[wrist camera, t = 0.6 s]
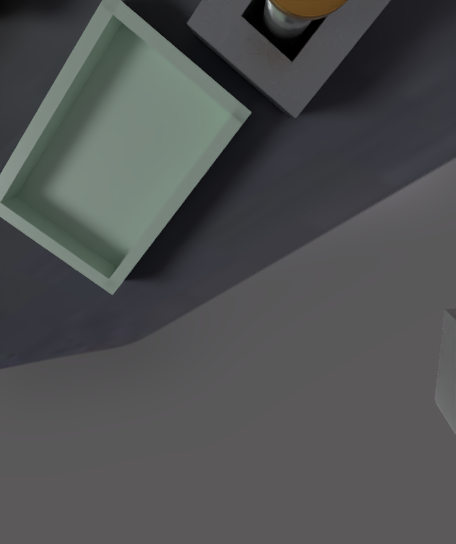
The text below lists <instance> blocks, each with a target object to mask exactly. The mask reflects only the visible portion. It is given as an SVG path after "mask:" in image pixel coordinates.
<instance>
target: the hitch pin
mask: <svg viewBox="0 0 456 544" xmlns="http://www.w3.org/2000/svg"><path fill="white" fill-rule="evenodd" d="M347 1H348V0H266V2H265V8H264V13H263V19H262V31H263V34H264V36H265V38H266V39H267V40H268V41H269V42H270V43H272V44H273V45H274V46H276V47H287V46H290V45H292V44H293V43H295V42H296V41H297V40H298V38H299V37H300V36H301V34H302V33H303V32H304V30H305V29H306V28H307V26H308V25H309V24H310V22H311V21H312V20H317V19H321V18H323V17H326V16H328V15H330V14H332V13H334V12H335V11H337V10H338V9H339V8H340V7H342V6H343V5H344V4H345V3H346V2H347Z"/></svg>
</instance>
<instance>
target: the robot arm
mask: <svg viewBox="0 0 456 544" xmlns="http://www.w3.org/2000/svg"><path fill="white" fill-rule="evenodd" d="M435 403H436V404H437V406H438V407H439V409H440V410H441V412H442V413H443V415H444V417H445V418H446V419H447V421H448V423H449V424H450V426H451V428H452V429H453V431H454V432H455V434H456V309H445V313H444V321H443V330H442V339H441V348H440V357H439V366H438V375H437V384H436V392H435Z"/></svg>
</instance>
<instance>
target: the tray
mask: <svg viewBox="0 0 456 544" xmlns="http://www.w3.org/2000/svg"><path fill="white" fill-rule="evenodd" d="M251 113H252V112H251V111H249V110H248V109H247V108H246V107H245V106H244V105H242V104H241V103H240V102H239V101H238V100H237V99H235V98H234V97H233V96H232V95H231V94H230V93H228V92H227V91H226V90H225V89H224V88H223V87H221V86H220V85H219V84H218V83H217V82H216V81H214V80H213V79H212V78H211V77H210V76H209V75H207V74H206V73H205V72H204V71H203V70H202V69H200V68H199V67H198V66H197V65H196V64H194V63H193V62H192V61H191V60H190V59H189V58H187V57H186V56H185V55H184V54H183V53H182V52H180V51H179V50H178V49H177V48H176V47H175V46H173V45H172V44H171V43H170V42H169V41H168V40H166V39H165V38H164V37H163V36H162V35H161V34H159V33H158V32H157V31H156V30H155V29H154V28H152V27H151V26H150V25H149V24H148V23H147V22H145V21H144V20H143V19H142V18H141V17H140V16H138V15H137V14H136V13H135V12H134V11H133V10H131V9H130V8H129V7H128V6H127V5H125V4H124V3H123V2H122V1H121V0H102V2H101V3H100V5H99V7H98V8H97V10H96V12H95V14H94V15H93V17H92V19H91V20H90V22H89V24H88V26H87V27H86V29H85V31H84V32H83V34H82V36H81V38H80V39H79V41H78V43H77V44H76V46H75V48H74V49H73V51H72V53H71V55H70V56H69V58H68V60H67V61H66V63H65V65H64V67H63V68H62V70H61V72H60V73H59V75H58V77H57V79H56V80H55V82H54V84H53V85H52V87H51V89H50V91H49V92H48V94H47V96H46V97H45V99H44V101H43V102H42V104H41V106H40V108H39V109H38V111H37V113H36V114H35V116H34V118H33V120H32V121H31V123H30V125H29V126H28V128H27V130H26V132H25V133H24V135H23V137H22V138H21V140H20V142H19V143H18V145H17V147H16V149H15V150H14V152H13V154H12V155H11V157H10V159H9V161H8V162H7V164H6V166H5V167H4V169H3V171H2V173H1V174H0V217H1V218H3V219H4V220H6V221H7V222H9V223H10V224H11V225H13V226H14V227H16V228H17V229H19V230H20V231H21V232H23V233H24V234H26V235H27V236H29V237H30V238H31V239H33V240H34V241H36V242H37V243H39V244H40V245H42V246H43V247H44V248H46V249H47V250H49V251H50V252H52V253H53V254H54V255H56V256H57V257H59V258H60V259H62V260H63V261H64V262H66V263H67V264H69V265H70V266H72V267H73V268H74V269H76V270H77V271H79V272H80V273H82V274H83V275H85V276H86V277H87V278H89V279H90V280H92V281H93V282H95V283H96V284H97V285H99V286H100V287H102V288H103V289H105V290H106V291H107V292H109V293H110V294H112V295H113V294H114V293H115V291H116V290H117V289H118V287H119V286H120V285H121V283H122V282H123V281H124V279H125V278H126V277H127V275H128V274H129V273H130V272H131V270H132V269H133V268H134V266H135V265H136V264H137V262H138V261H139V260H140V258H141V257H142V256H143V254H144V253H145V252H146V251H147V249H148V248H149V247H150V245H151V244H152V243H153V241H154V240H155V239H156V237H157V236H158V235H159V233H160V232H161V231H162V230H163V228H164V227H165V226H166V224H167V223H168V222H169V220H170V219H171V218H172V216H173V215H174V214H175V212H176V211H177V210H178V209H179V207H180V206H181V205H182V203H183V202H184V201H185V199H186V198H187V197H188V195H189V194H190V193H191V191H192V190H193V189H194V188H195V186H196V185H197V184H198V182H199V181H200V180H201V178H202V177H203V176H204V174H205V173H206V172H207V170H208V169H209V168H210V166H211V165H212V164H213V163H214V161H215V160H216V159H217V157H218V156H219V155H220V153H221V152H222V151H223V149H224V148H225V147H226V145H227V144H228V143H229V142H230V140H231V139H232V138H233V136H234V135H235V134H236V132H237V131H238V130H239V128H240V127H241V126H242V124H243V123H244V122H245V121H246V119H247V118H248V117H249V115H250V114H251Z"/></svg>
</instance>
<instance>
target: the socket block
mask: <svg viewBox="0 0 456 544" xmlns="http://www.w3.org/2000/svg"><path fill="white" fill-rule="evenodd" d="M261 2H262V0H202V1H201V2H200V4H199V5H198V7H197V8H196V10H195V11H194V13H193V15H192V16H191V18H190V19H189V21H188V22H187V25H188V26H189V28H190V29H191V30H192V32H193V33H194V35H195V36H196V37H197V38H198V39H199V40H200V41H202V42H203V43H204V44H205V45H206V46H207V47H208V48H210V49H211V50H212V51H213V52H214V53H215V54H217V55H218V56H219V57H220V58H221V59H222V60H223V61H225V62H226V63H227V64H228V65H229V66H230V67H231V68H233V69H234V70H235V71H236V72H237V73H238V74H239V75H241V76H242V77H243V78H244V79H245V80H246V81H248V82H249V83H250V84H251V85H252V86H253V87H254V88H256V89H257V90H258V91H259V92H260V93H261V94H262V95H264V96H265V97H266V98H267V99H268V100H269V101H270V102H272V103H273V104H274V105H275V106H276V107H277V108H279V109H280V110H281V111H282V112H283V113H284V114H285V115H287V116H288V117H289V118H295V119H296V118H297V116H298V115H299V114H300V113H301V111H302V110H303V109H304V108H305V106H306V105H307V104H308V103H309V101H310V100H311V99H312V98H313V96H314V95H315V94H316V93H317V91H318V90H319V89H320V88H321V86H322V85H323V84H324V83H325V81H326V80H327V79H328V78H329V76H330V75H331V74H332V73H333V71H334V70H335V69H336V68H337V66H338V65H339V64H340V63H341V62H342V60H343V59H344V58H345V57H346V55H347V54H348V53H349V52H350V50H351V49H352V48H353V47H354V45H355V44H356V43H357V42H358V40H359V39H360V38H361V37H362V35H363V34H364V33H365V32H366V30H367V29H368V28H369V27H370V25H371V24H372V23H373V22H374V20H375V19H376V18H377V17H378V15H379V14H380V13H381V12H382V10H383V9H384V8H385V7H386V5H387V4H388V3H389V2H390V0H348V1H347V2H346V3H345V4H344V5H343V6H342V7H340V8H339V9H338V10H337V11H335V12H334V13H332V14H330V15H328V16H326V17H324V19H323V21H322V22H321V23H320V25H319V26H318V27H317V29H316V30H315V31H314V33H313V34H312V35H311V37H310V38H309V39H308V40H307V42H306V43H305V44H304V46H303V47H302V48H301V50H300V51H299V52H298V54H297V55H296V56H295V58H294V59H293V60H292V61H290V60H289V59H288V58H287V57H286V56H285V55H284V54H283V53H281V52H280V51H279V50H278V49H277V48H276V47H275V46H274V45H273V44H272V43H270V42H269V41H268V40H267V39H266V38H265V37H264V36H263V35H262V34H260V33H259V32H258V31H257V30H256V29H255V28H254V27H253V26H252V25H251V24H249V23H248V22H247V21H248V20H249V19H250V17H251V16H252V14H253V13H254V11H255V10H256V9H257V7H258V6H259V4H260V3H261Z"/></svg>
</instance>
